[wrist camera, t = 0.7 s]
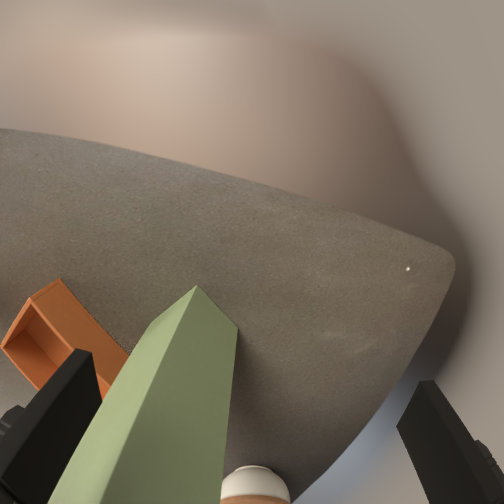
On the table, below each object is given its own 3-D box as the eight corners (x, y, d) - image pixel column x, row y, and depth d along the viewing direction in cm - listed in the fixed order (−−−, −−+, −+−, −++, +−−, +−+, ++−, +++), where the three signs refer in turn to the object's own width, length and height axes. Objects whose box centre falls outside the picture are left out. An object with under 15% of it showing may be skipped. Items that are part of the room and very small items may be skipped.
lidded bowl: (256, 448, 41) (256, 503, 30) (302, 474, 43) (308, 522, 32) (202, 471, 43) (195, 520, 32) (250, 495, 45) (249, 539, 35)
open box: (24, 325, 36) (-1, 346, 29) (59, 277, 33) (29, 297, 27) (108, 413, 39) (93, 441, 33) (158, 382, 37) (144, 415, 31)
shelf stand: (126, 305, 34) (-27, 507, 5) (182, 255, 32) (-1, 513, 4) (193, 372, 37) (134, 596, 8) (253, 332, 35) (248, 608, 6)
